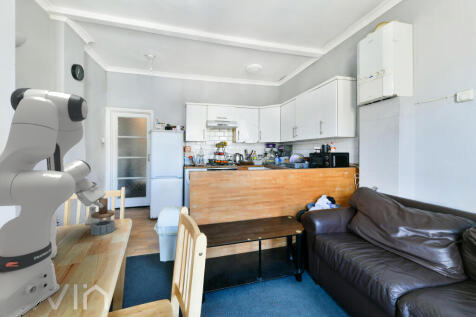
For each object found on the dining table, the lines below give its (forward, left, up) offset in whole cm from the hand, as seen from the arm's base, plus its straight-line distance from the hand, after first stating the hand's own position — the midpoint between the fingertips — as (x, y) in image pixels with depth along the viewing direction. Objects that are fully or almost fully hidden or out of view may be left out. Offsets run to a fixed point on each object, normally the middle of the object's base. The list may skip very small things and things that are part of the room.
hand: (104, 205), depth 112 cm
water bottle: (-29, +8, -15) cm, 34 cm away
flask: (+13, +14, -15) cm, 24 cm away
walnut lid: (0, +1, -5) cm, 5 cm away
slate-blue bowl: (0, +1, -14) cm, 14 cm away
